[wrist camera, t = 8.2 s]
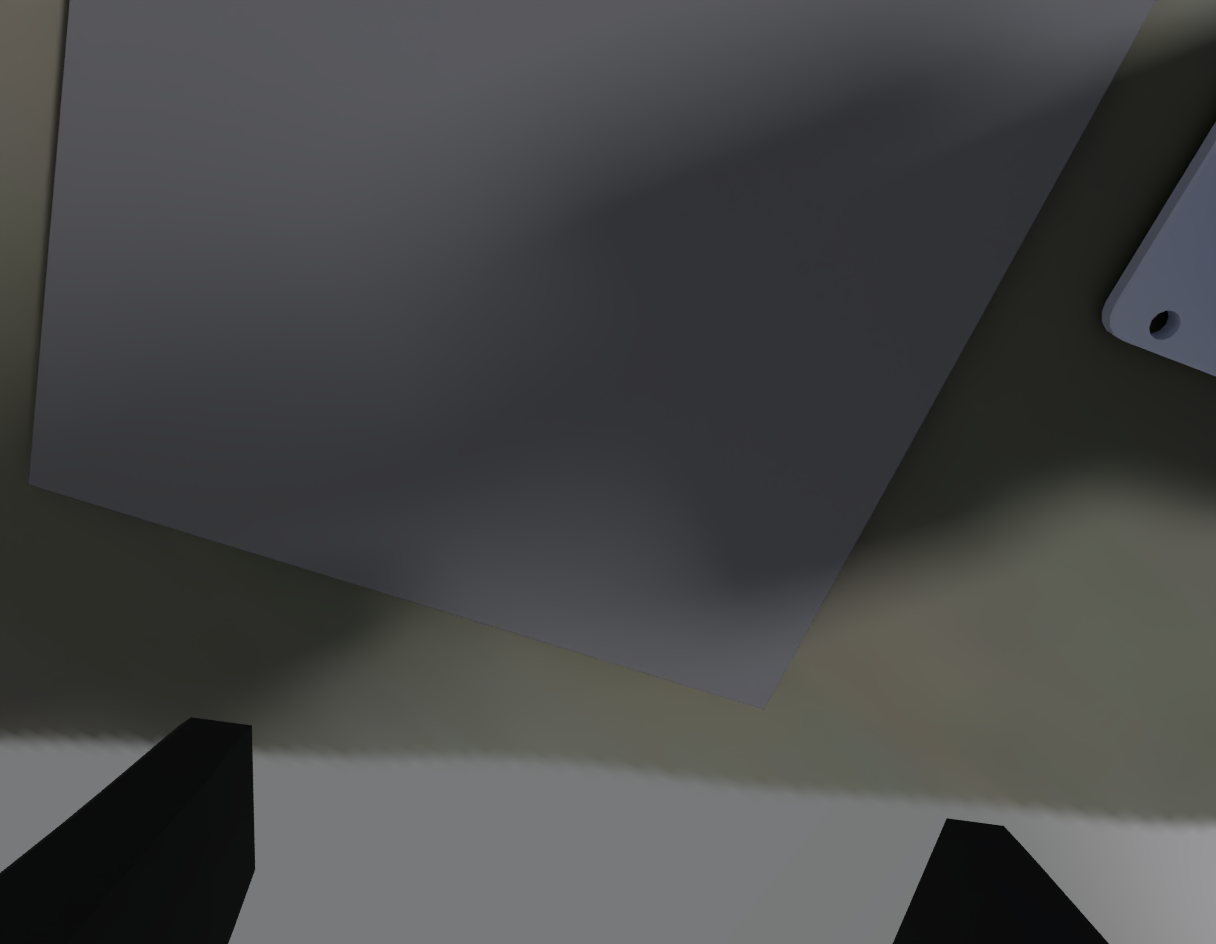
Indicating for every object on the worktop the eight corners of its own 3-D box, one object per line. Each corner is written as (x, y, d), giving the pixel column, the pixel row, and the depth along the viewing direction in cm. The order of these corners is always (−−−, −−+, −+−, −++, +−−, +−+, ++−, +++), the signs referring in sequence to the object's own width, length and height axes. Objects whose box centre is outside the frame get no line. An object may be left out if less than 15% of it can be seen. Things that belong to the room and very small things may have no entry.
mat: (1187, -80, 14) (1202, -83, 13) (761, 697, 20) (763, 709, 20) (135, -559, 12) (119, -579, 11) (40, 475, 18) (28, 484, 18)
